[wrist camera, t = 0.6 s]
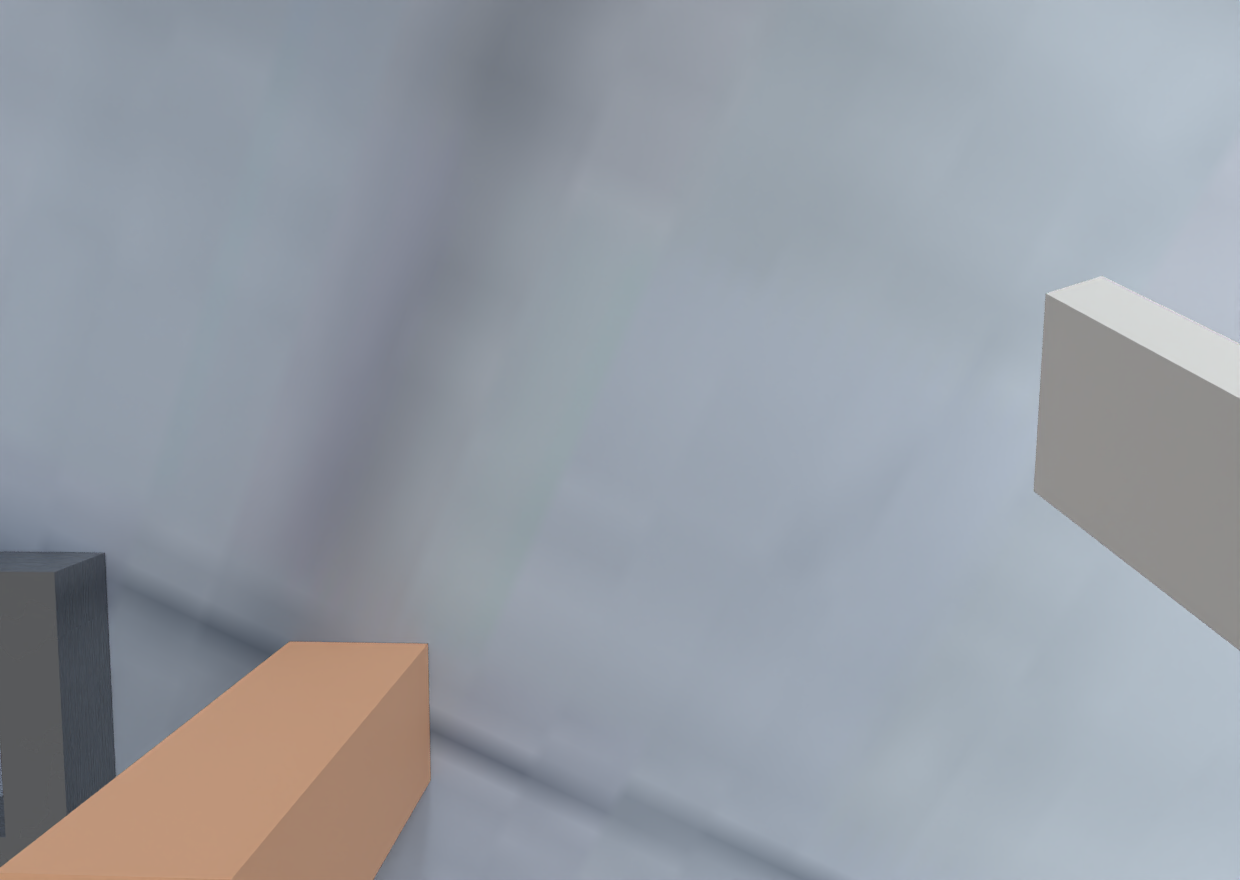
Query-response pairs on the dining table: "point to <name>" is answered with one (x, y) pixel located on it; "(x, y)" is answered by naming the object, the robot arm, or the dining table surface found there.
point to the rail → (52, 690)
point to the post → (264, 779)
